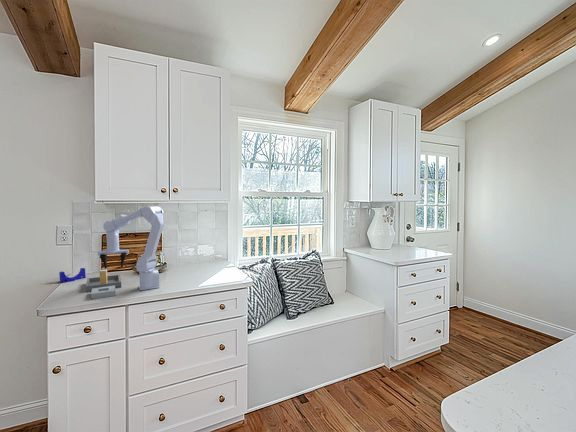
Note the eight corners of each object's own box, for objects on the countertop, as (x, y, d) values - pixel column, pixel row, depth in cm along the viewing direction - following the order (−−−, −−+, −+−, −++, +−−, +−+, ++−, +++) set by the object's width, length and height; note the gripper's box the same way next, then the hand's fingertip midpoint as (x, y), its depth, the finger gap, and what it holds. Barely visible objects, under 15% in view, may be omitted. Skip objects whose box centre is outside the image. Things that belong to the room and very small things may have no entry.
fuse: (107, 283, 166) (106, 269, 166) (106, 284, 164) (105, 270, 163) (101, 284, 165) (100, 269, 165) (100, 285, 162) (99, 271, 162)
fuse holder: (115, 290, 156) (114, 285, 156) (115, 295, 148) (115, 290, 148) (92, 293, 151) (92, 288, 151) (91, 299, 143) (91, 294, 143)
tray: (120, 279, 177) (119, 274, 177) (121, 287, 161) (121, 281, 161) (87, 283, 169) (87, 278, 168) (85, 292, 153) (85, 286, 153)
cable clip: (62, 283, 170) (62, 273, 169) (59, 282, 172) (59, 271, 172) (86, 278, 179) (86, 268, 179) (83, 277, 182) (83, 267, 182)
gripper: (95, 244, 156) (96, 270, 157) (126, 242, 161) (127, 267, 162) (98, 242, 163) (100, 267, 164) (128, 241, 168) (129, 265, 169)
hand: (114, 267), depth 163 cm, fingers open, 7 cm apart
